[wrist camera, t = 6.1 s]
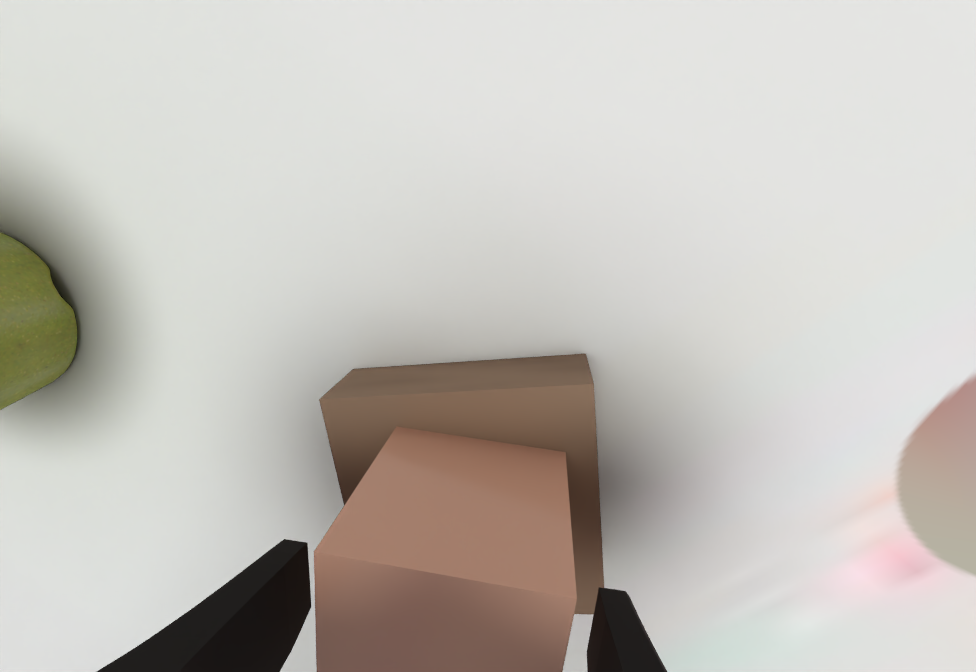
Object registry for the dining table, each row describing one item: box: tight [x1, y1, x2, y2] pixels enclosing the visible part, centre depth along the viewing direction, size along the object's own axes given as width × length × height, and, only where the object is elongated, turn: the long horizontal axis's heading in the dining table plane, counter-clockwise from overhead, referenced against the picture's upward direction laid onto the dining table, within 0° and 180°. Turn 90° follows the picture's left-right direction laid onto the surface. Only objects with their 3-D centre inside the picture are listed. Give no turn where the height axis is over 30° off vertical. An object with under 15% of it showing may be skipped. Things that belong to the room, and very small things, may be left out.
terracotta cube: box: [314, 427, 577, 672], centre depth 12 cm, size 5×5×5 cm
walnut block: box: [319, 354, 604, 614], centre depth 15 cm, size 8×8×3 cm
